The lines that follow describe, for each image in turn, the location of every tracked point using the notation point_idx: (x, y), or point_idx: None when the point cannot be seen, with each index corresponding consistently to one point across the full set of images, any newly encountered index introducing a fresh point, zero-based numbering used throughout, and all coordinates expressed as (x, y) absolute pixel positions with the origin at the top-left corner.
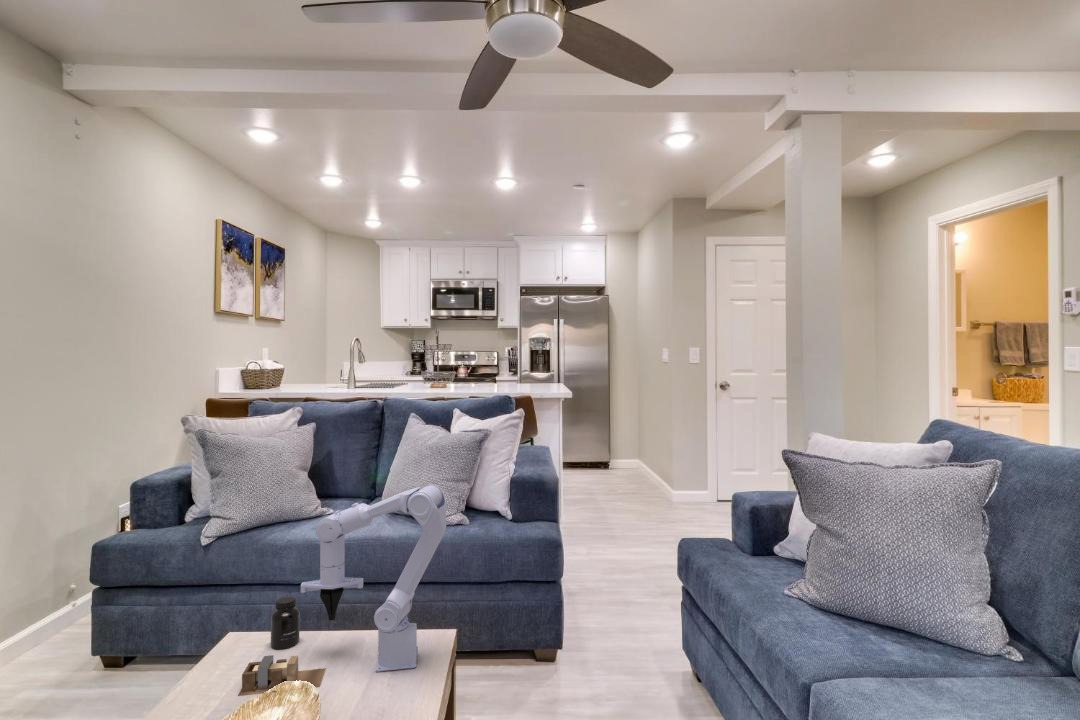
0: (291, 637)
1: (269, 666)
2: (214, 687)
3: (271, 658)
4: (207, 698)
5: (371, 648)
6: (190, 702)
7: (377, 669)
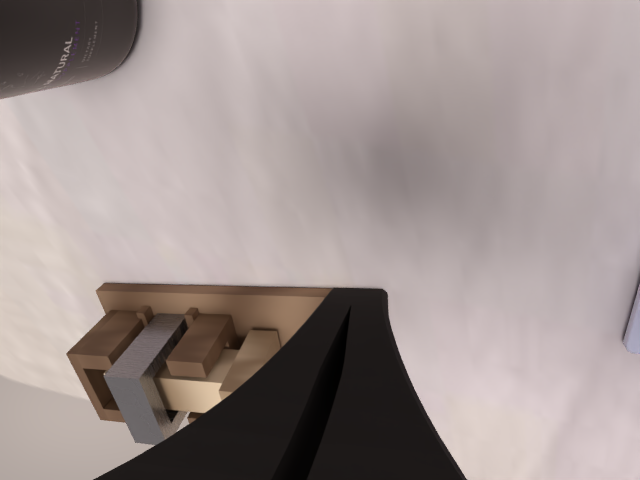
0: (81, 63)
1: (162, 393)
2: (29, 302)
3: (146, 400)
4: (55, 351)
5: (630, 86)
6: (26, 357)
7: (637, 351)
